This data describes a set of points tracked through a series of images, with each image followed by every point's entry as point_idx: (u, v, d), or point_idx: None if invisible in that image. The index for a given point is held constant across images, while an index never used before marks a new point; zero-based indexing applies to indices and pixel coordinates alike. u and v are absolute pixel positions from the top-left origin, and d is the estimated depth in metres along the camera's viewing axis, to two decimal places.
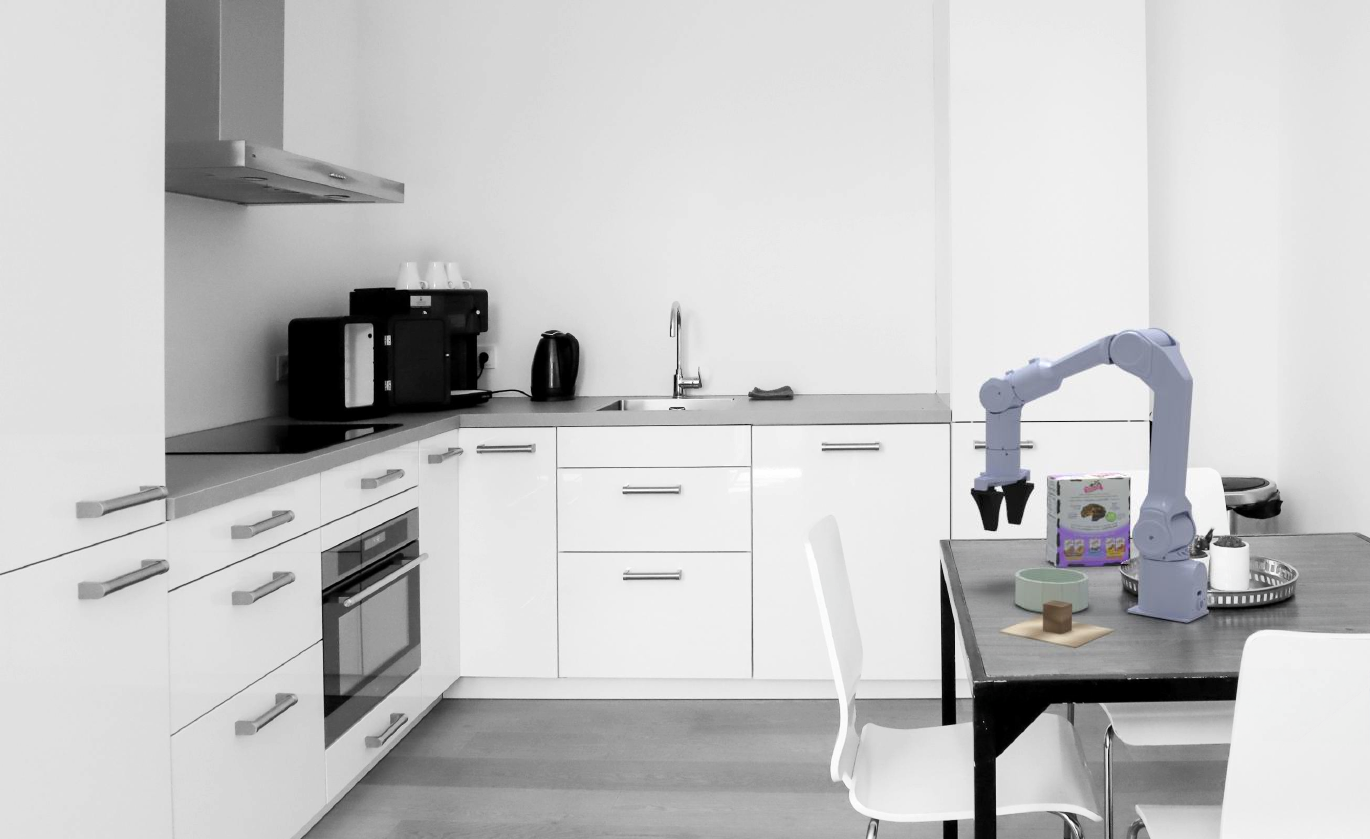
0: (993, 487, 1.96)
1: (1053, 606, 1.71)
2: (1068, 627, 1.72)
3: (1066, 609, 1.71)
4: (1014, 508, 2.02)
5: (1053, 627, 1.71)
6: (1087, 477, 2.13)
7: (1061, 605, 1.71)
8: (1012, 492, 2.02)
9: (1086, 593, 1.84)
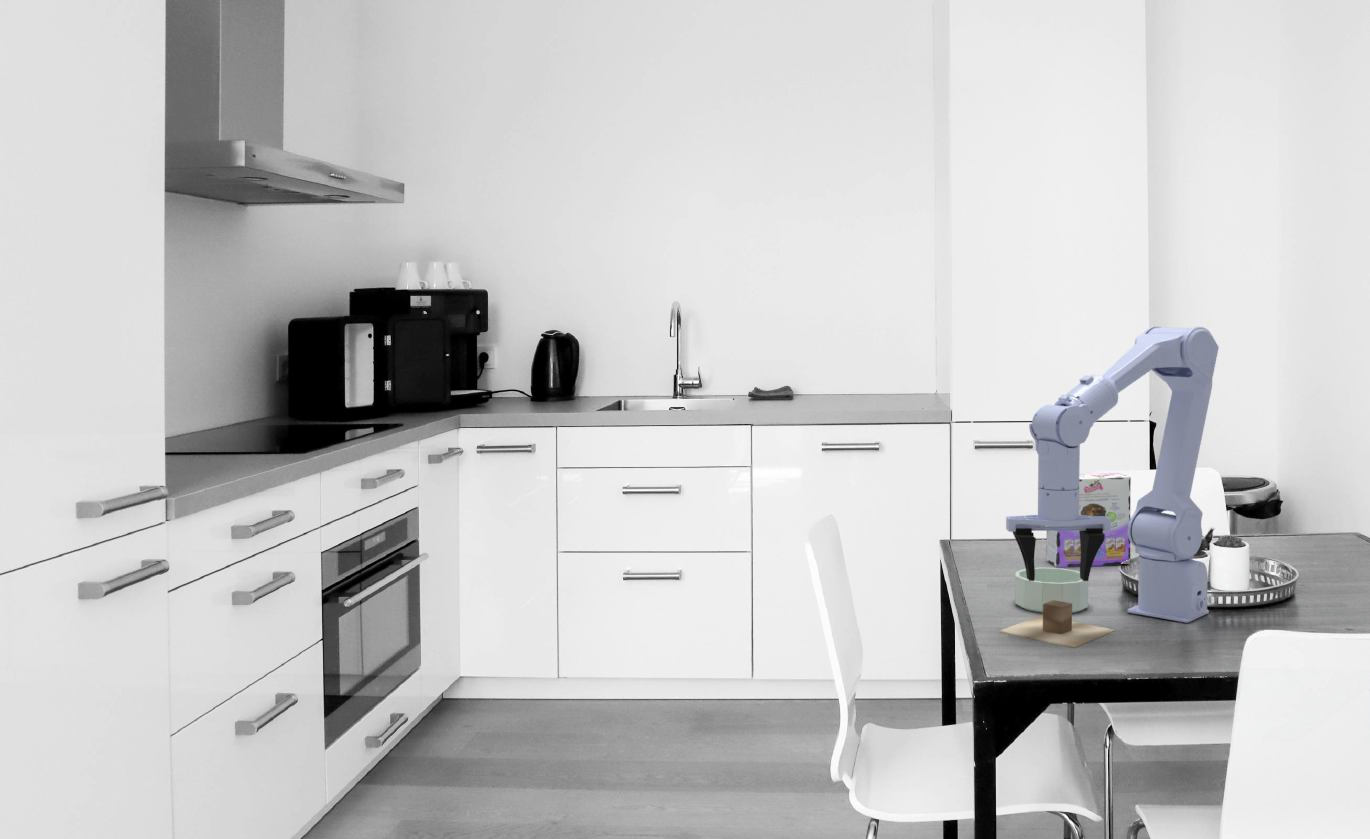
0: (1029, 530, 1.70)
1: (1053, 606, 1.71)
2: (1068, 627, 1.72)
3: (1066, 609, 1.71)
4: (1083, 560, 1.71)
5: (1053, 627, 1.71)
6: (1087, 477, 2.13)
7: (1061, 605, 1.71)
8: (1083, 541, 1.71)
9: (1086, 593, 1.84)
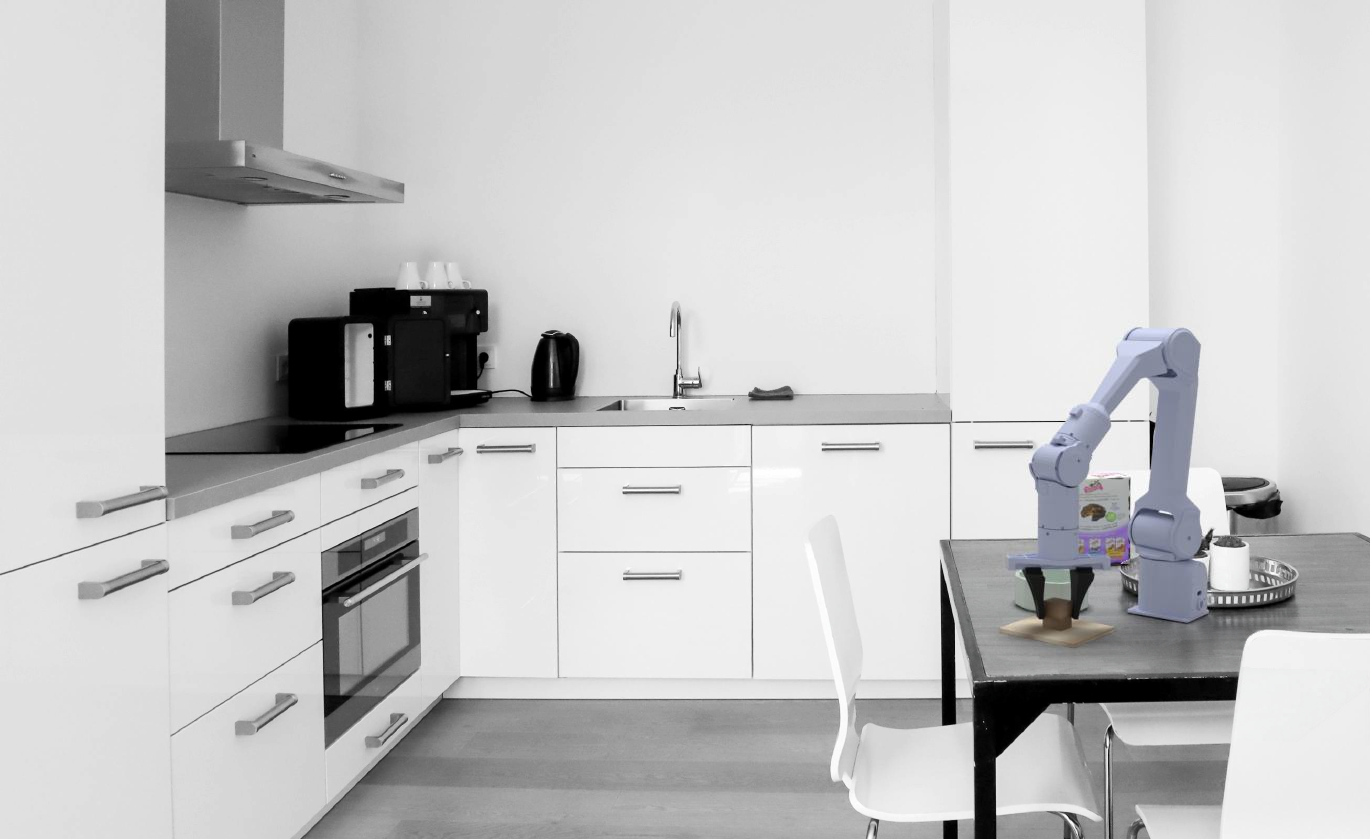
0: (1029, 569, 1.71)
1: (1053, 603, 1.71)
2: (1068, 624, 1.72)
3: (1066, 606, 1.71)
4: (1073, 599, 1.72)
5: (1053, 624, 1.71)
6: (1087, 477, 2.13)
7: (1061, 602, 1.71)
8: (1073, 580, 1.72)
9: (1086, 593, 1.84)
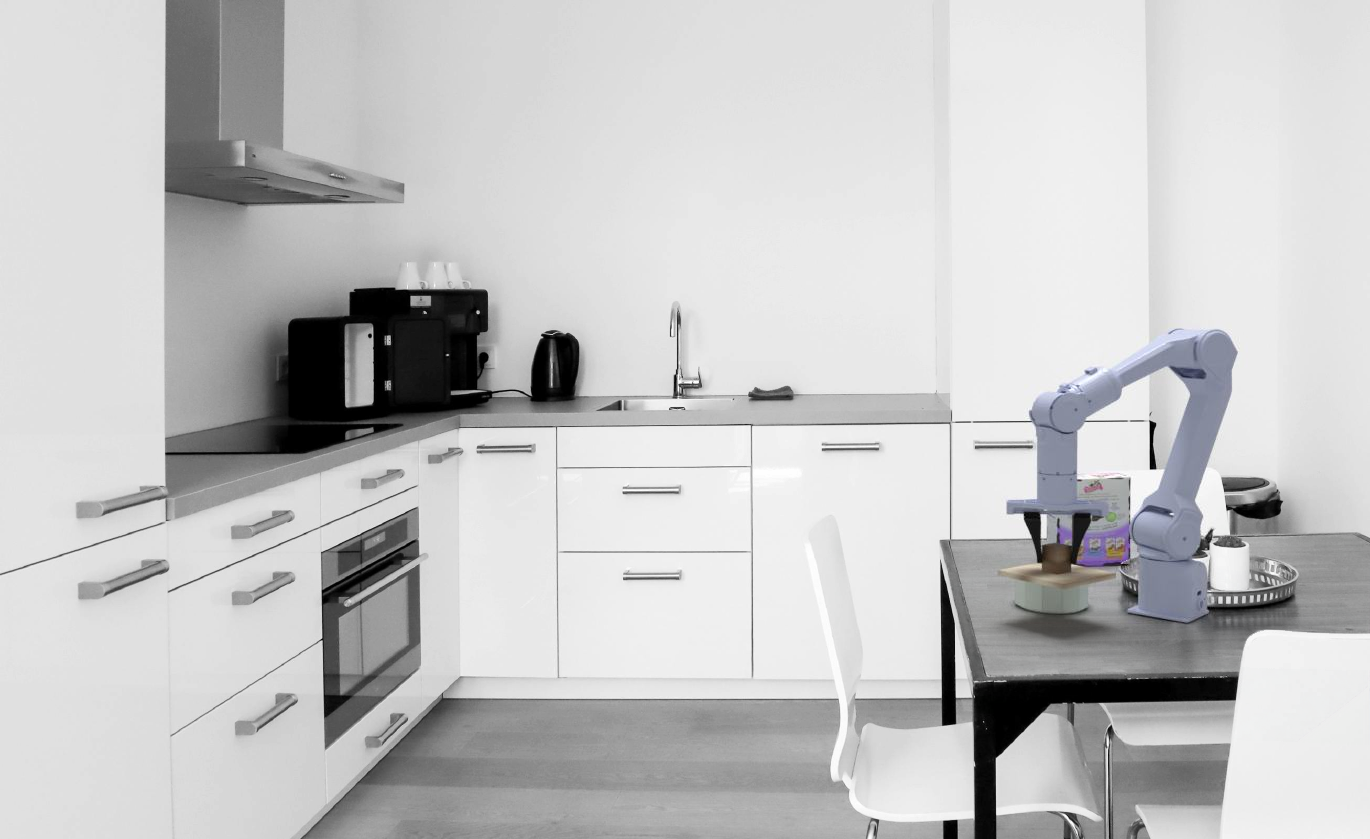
0: (1027, 513, 1.75)
1: (1050, 547, 1.74)
2: (1066, 568, 1.75)
3: (1064, 551, 1.74)
4: (1072, 544, 1.75)
5: (1050, 568, 1.75)
6: (1087, 477, 2.13)
7: (1059, 546, 1.74)
8: None
9: (1086, 593, 1.84)
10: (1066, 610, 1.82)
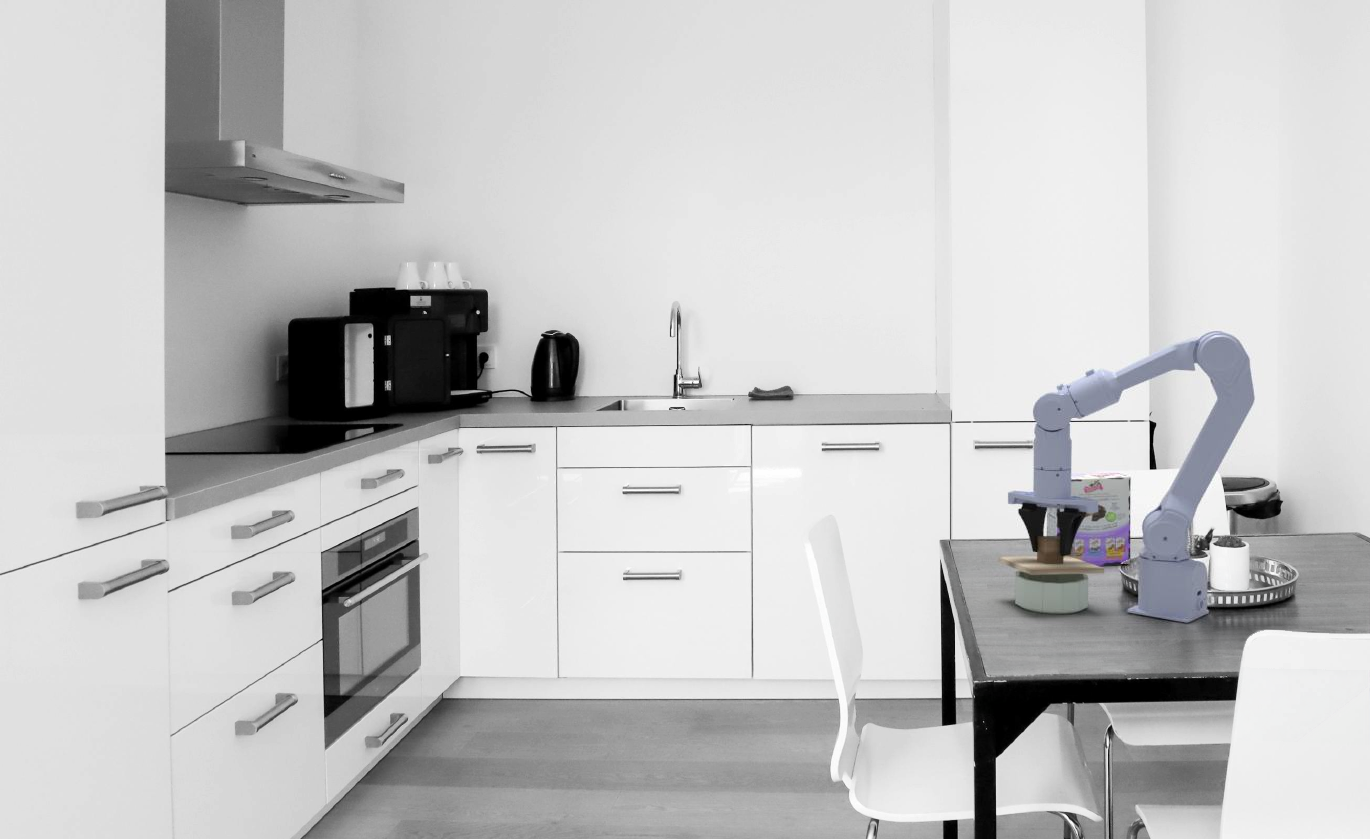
0: (1024, 504, 1.88)
1: (1042, 538, 1.86)
2: (1057, 560, 1.85)
3: (1054, 542, 1.84)
4: None
5: (1041, 558, 1.86)
6: (1087, 477, 2.13)
7: (1050, 538, 1.85)
8: None
9: (1086, 593, 1.84)
10: (1066, 610, 1.82)
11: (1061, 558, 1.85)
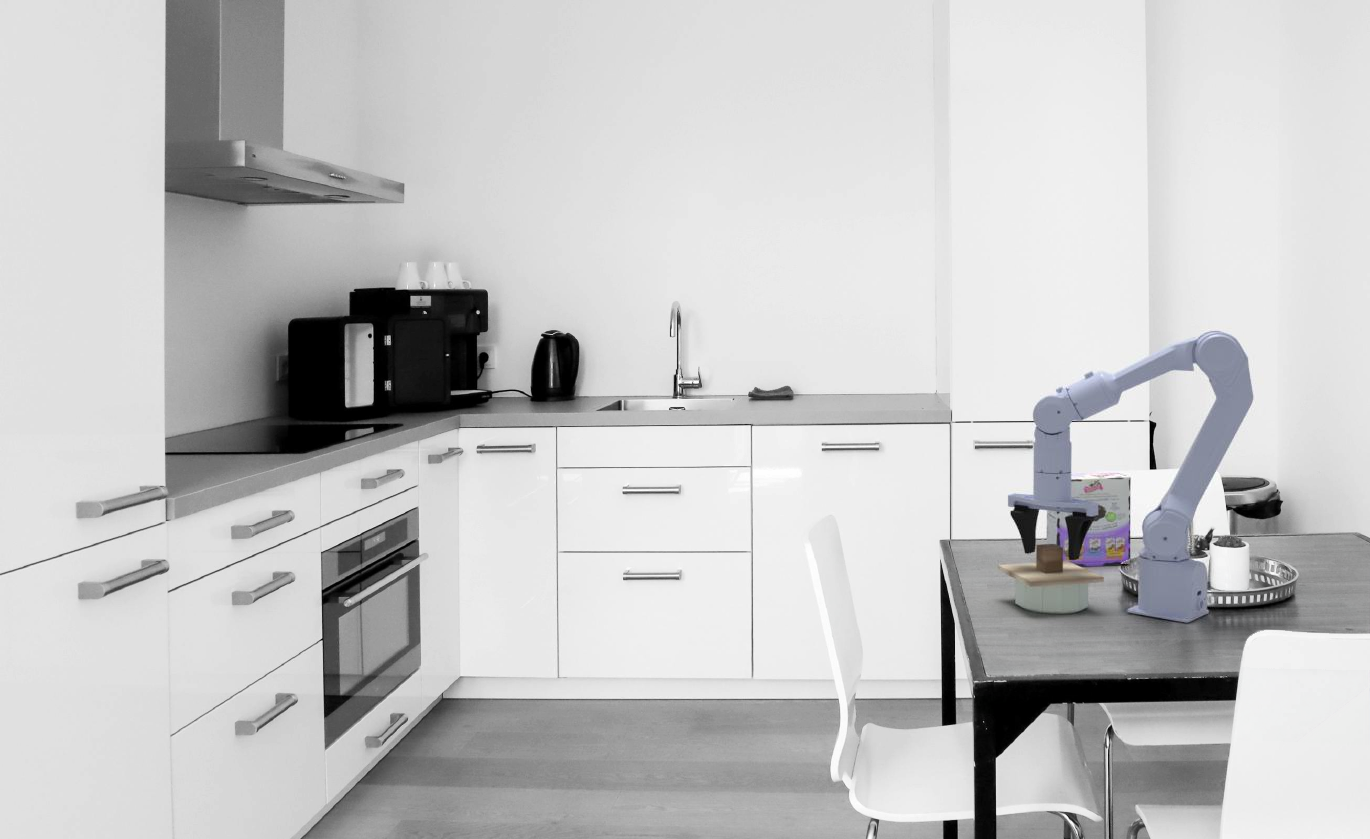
0: (1024, 507, 1.88)
1: (1041, 547, 1.85)
2: (1056, 569, 1.85)
3: (1053, 552, 1.84)
4: None
5: (1041, 567, 1.86)
6: (1087, 477, 2.13)
7: (1049, 547, 1.85)
8: None
9: (1086, 593, 1.84)
10: (1066, 610, 1.82)
11: (1060, 567, 1.85)
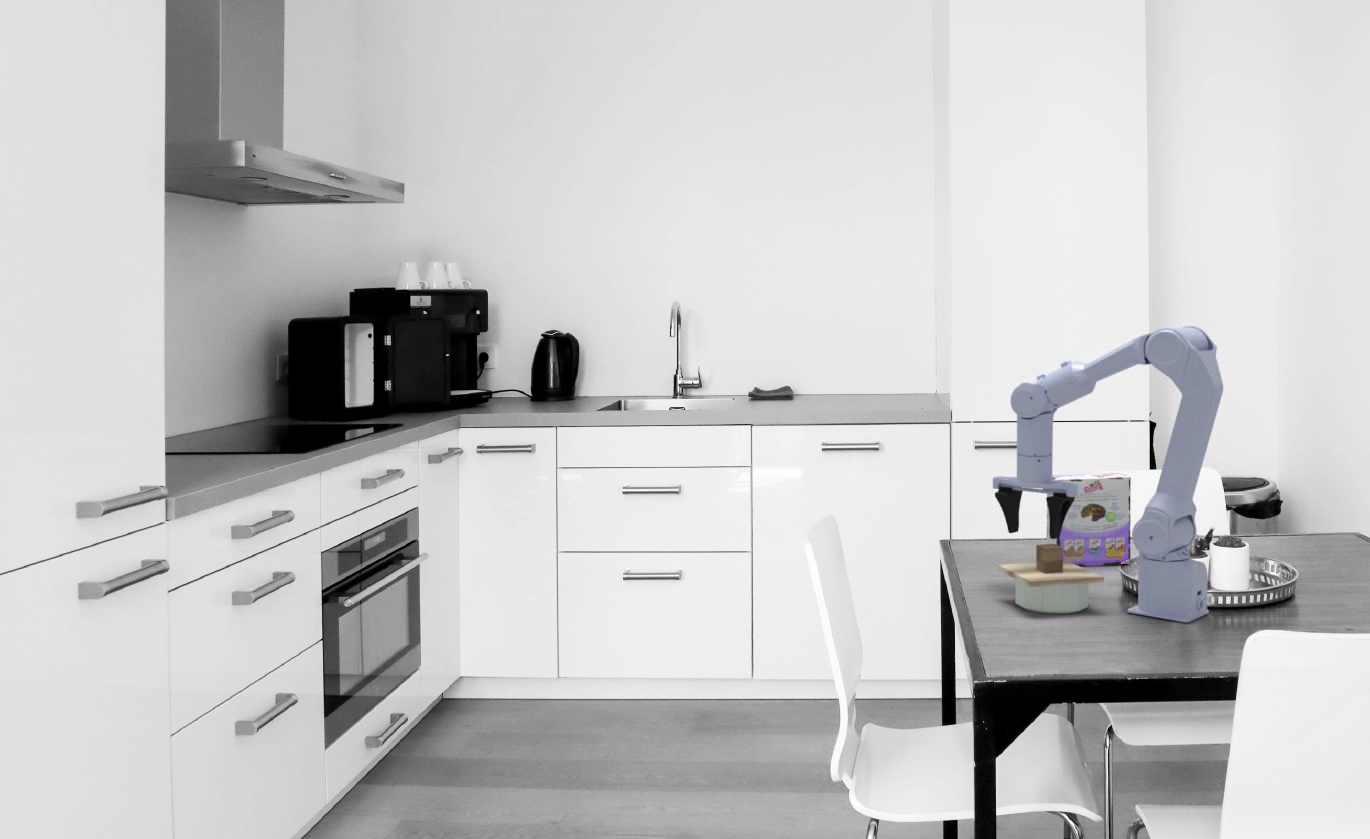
0: (1008, 489, 1.98)
1: (1041, 547, 1.85)
2: (1056, 569, 1.85)
3: (1053, 552, 1.84)
4: None
5: (1041, 567, 1.86)
6: (1087, 477, 2.13)
7: (1049, 547, 1.85)
8: None
9: (1086, 593, 1.84)
10: (1066, 610, 1.82)
11: (1060, 567, 1.85)
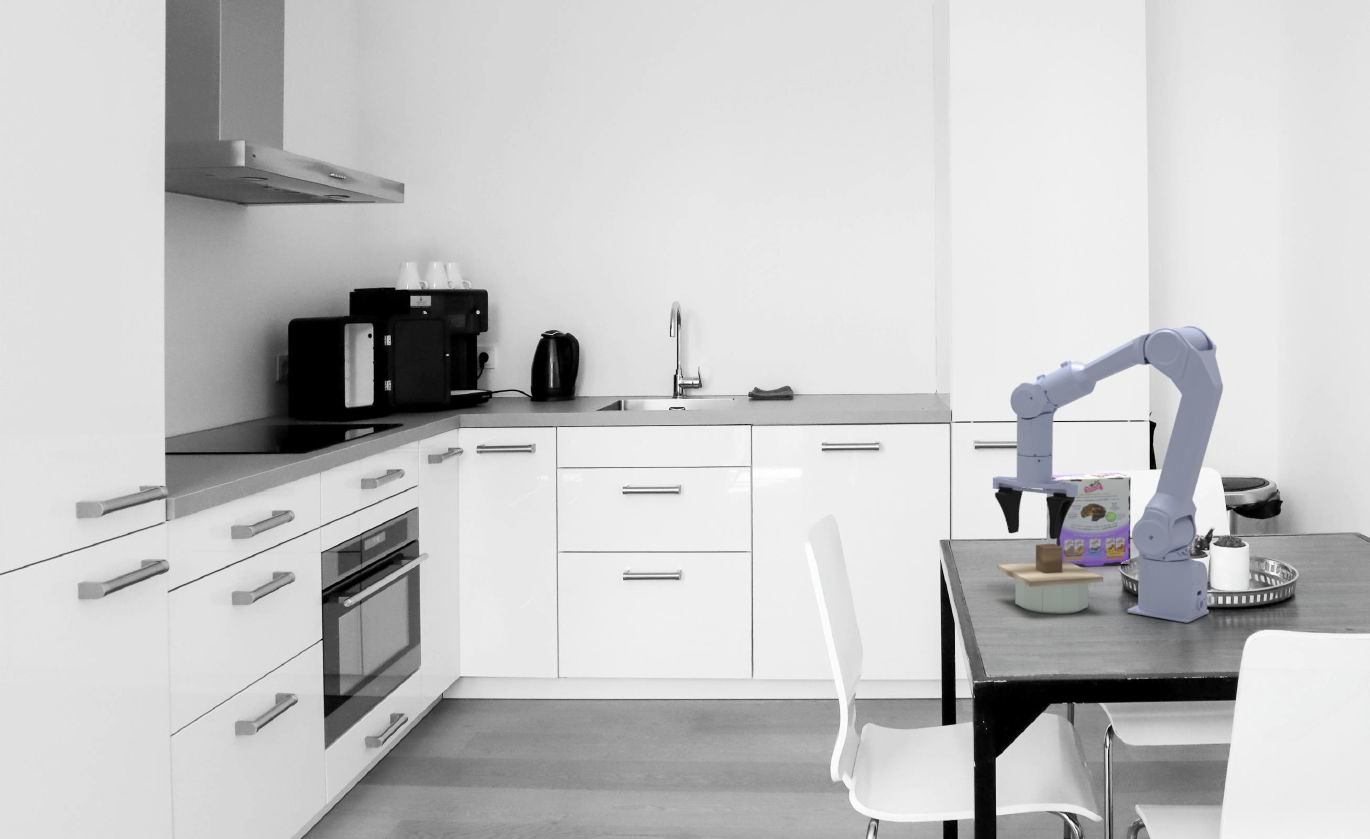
0: (1008, 489, 1.98)
1: (1040, 547, 1.85)
2: (1056, 568, 1.85)
3: (1053, 552, 1.84)
4: None
5: (1040, 567, 1.86)
6: (1087, 477, 2.13)
7: (1048, 547, 1.85)
8: None
9: (1086, 593, 1.84)
10: (1066, 610, 1.82)
11: (1060, 567, 1.85)
